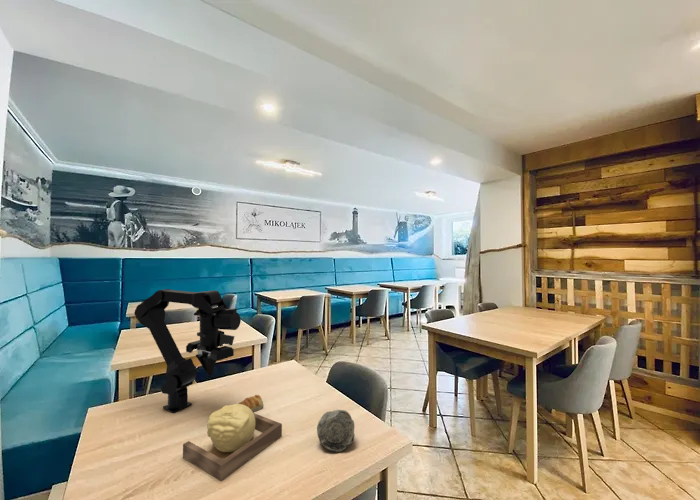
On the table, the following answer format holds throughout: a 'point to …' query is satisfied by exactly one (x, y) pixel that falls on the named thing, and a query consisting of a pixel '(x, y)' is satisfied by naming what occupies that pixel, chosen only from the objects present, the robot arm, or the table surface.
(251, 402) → the pastry
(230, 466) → the frame
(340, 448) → the fossil
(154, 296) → the robot arm
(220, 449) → the sculpture
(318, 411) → the table surface
